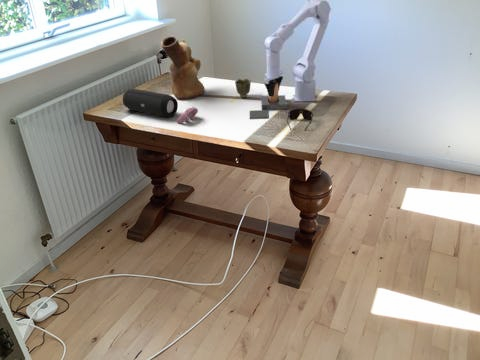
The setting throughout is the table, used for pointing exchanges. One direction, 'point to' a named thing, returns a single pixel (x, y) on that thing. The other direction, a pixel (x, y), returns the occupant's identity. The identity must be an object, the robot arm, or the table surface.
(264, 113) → the mat
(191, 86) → the ceramic vessel
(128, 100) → the portable speaker
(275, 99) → the tapered peach cylinder
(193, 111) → the pink elongated curved piece
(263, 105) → the housing
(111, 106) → the table surface
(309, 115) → the sunglasses
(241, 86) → the cup
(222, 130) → the table surface
